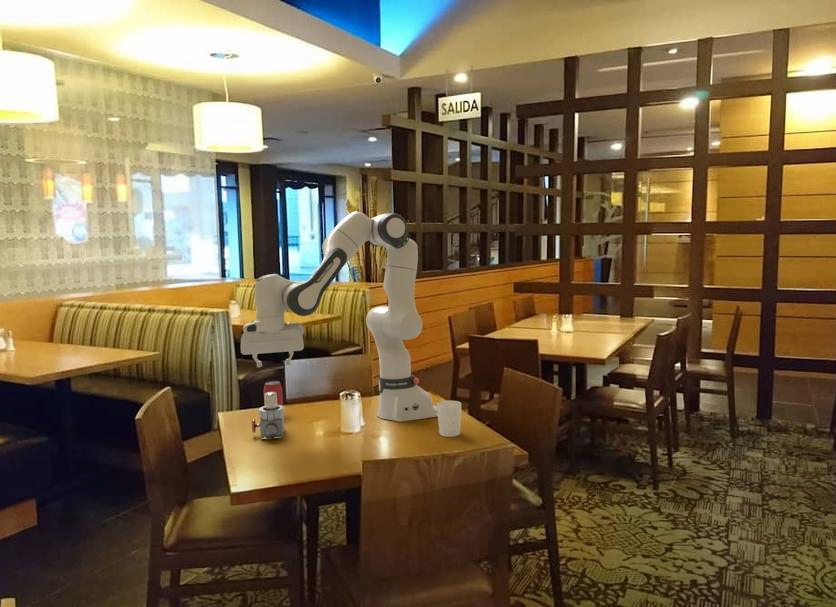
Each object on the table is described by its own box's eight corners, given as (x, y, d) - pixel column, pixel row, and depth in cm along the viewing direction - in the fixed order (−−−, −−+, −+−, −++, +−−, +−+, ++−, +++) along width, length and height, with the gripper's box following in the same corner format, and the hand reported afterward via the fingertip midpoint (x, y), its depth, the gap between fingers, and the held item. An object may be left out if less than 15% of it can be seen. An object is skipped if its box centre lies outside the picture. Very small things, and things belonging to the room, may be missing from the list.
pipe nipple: (278, 414, 212) (276, 391, 211) (277, 418, 208) (276, 394, 207) (266, 415, 212) (264, 392, 211) (265, 419, 208) (263, 395, 207)
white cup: (460, 438, 201) (459, 407, 200) (435, 437, 203) (434, 406, 201) (463, 430, 209) (462, 400, 208) (439, 429, 210) (439, 400, 209)
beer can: (281, 417, 231) (279, 384, 229) (263, 417, 231) (261, 385, 229) (285, 411, 237) (283, 380, 236) (267, 412, 237) (265, 380, 236)
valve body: (285, 427, 218) (284, 401, 217) (283, 440, 204) (282, 413, 203) (255, 429, 217) (253, 404, 216) (251, 443, 203) (249, 415, 202)
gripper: (303, 320, 212) (306, 361, 214) (240, 324, 209) (243, 366, 211) (303, 323, 206) (305, 365, 208) (238, 327, 203) (241, 370, 204)
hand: (274, 365), depth 209 cm, fingers open, 8 cm apart
